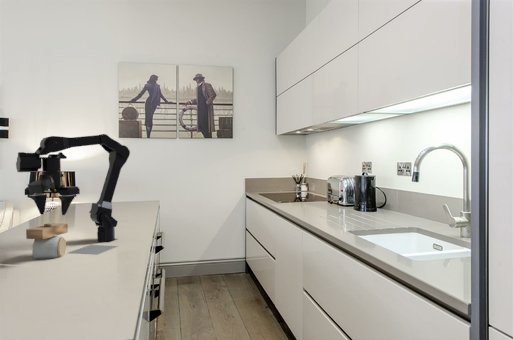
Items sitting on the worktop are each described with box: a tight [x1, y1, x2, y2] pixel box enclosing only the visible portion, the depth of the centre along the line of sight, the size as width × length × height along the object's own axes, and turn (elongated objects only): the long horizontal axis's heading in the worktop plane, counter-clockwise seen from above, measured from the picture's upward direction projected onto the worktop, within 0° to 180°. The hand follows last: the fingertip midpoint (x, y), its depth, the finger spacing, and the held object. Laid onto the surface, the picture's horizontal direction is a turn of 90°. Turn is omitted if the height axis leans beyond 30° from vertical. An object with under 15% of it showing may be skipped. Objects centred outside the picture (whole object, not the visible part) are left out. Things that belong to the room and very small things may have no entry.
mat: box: [67, 244, 119, 255], centre depth 126 cm, size 12×12×1 cm
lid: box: [25, 222, 69, 240], centre depth 117 cm, size 11×6×4 cm, turn 169°
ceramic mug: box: [31, 235, 67, 260], centre depth 119 cm, size 11×8×8 cm
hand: (52, 214), depth 127 cm, fingers open, 9 cm apart
